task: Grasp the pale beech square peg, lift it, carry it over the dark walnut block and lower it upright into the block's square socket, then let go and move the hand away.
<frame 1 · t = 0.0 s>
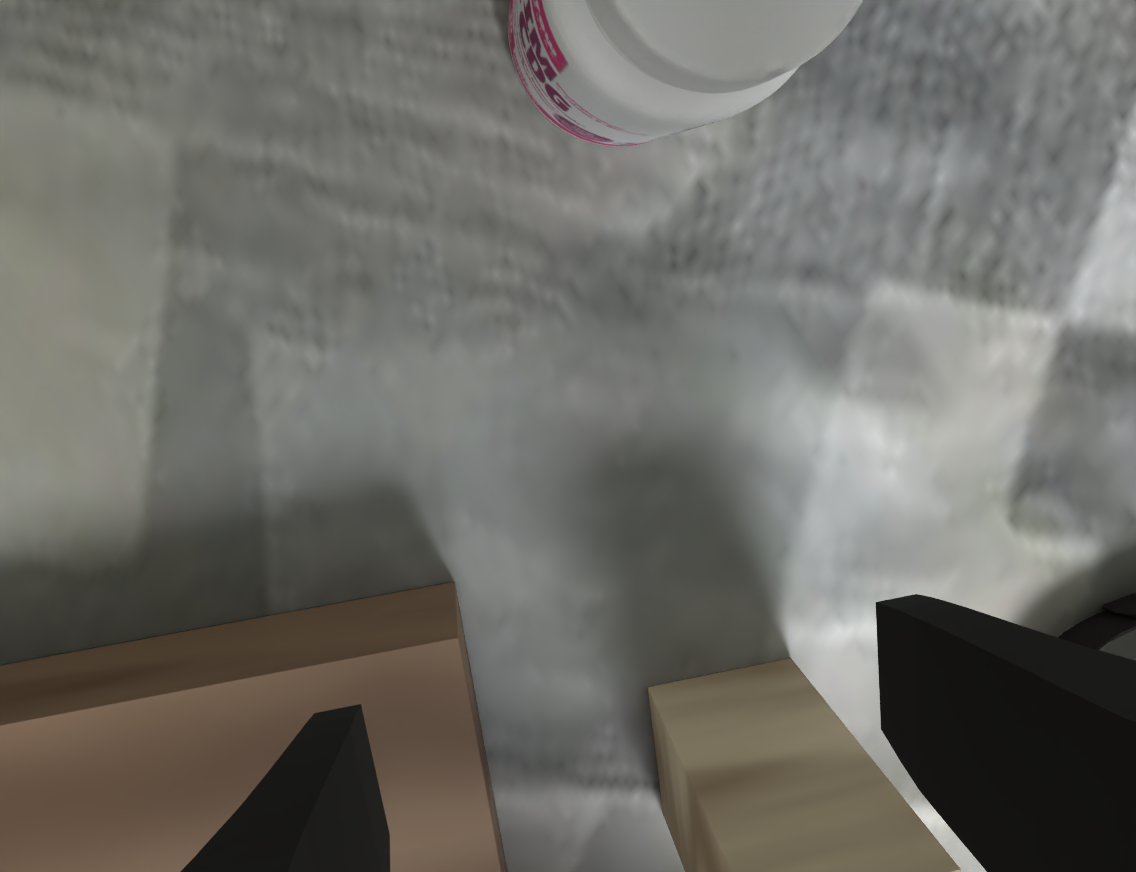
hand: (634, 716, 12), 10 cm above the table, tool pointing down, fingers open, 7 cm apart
beech peg: (726, 736, 24), on the table
watch: (1121, 650, 26), on the table
pill bottle: (611, 37, 20), on the table
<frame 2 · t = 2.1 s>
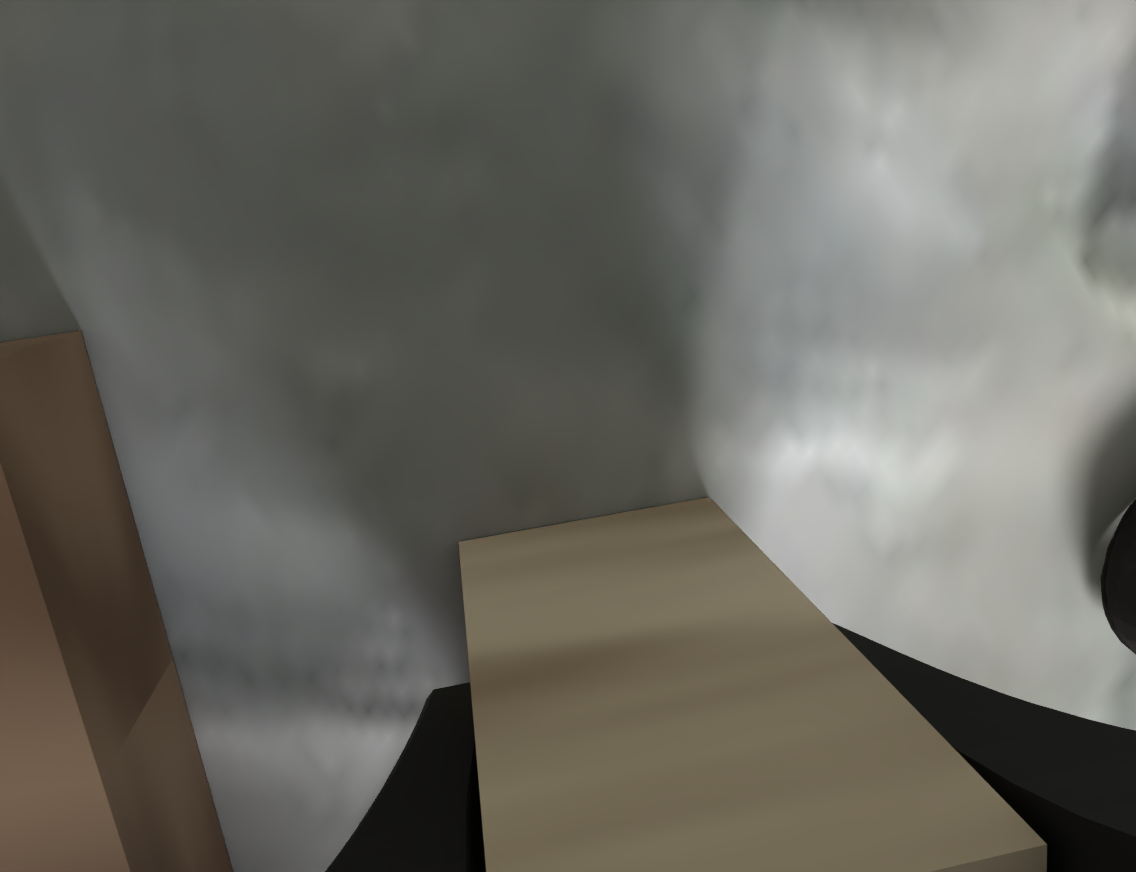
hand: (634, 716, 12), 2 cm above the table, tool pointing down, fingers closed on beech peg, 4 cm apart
beech peg: (601, 633, 14), on the table, touching gripper
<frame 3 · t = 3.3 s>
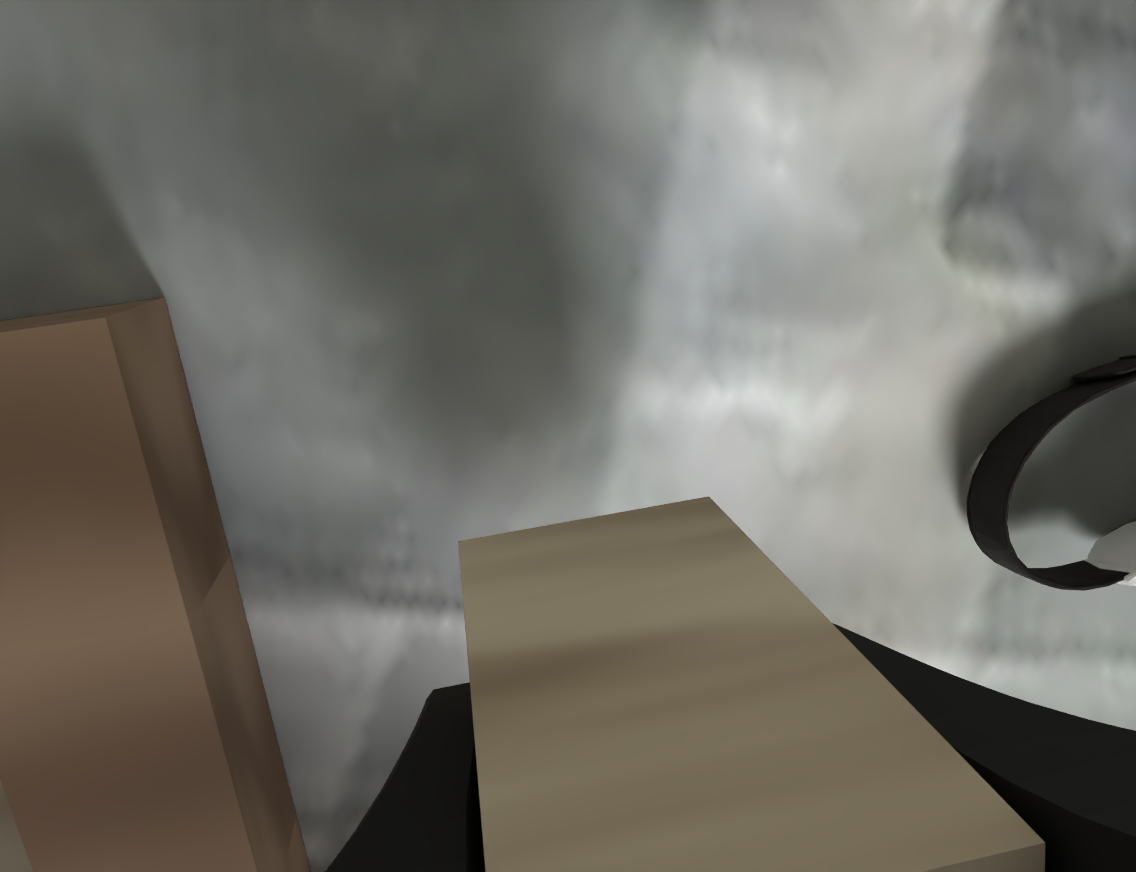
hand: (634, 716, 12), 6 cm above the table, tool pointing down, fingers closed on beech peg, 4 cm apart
beech peg: (601, 633, 14), point 4 cm above the table, touching gripper
watch: (1097, 445, 20), on the table
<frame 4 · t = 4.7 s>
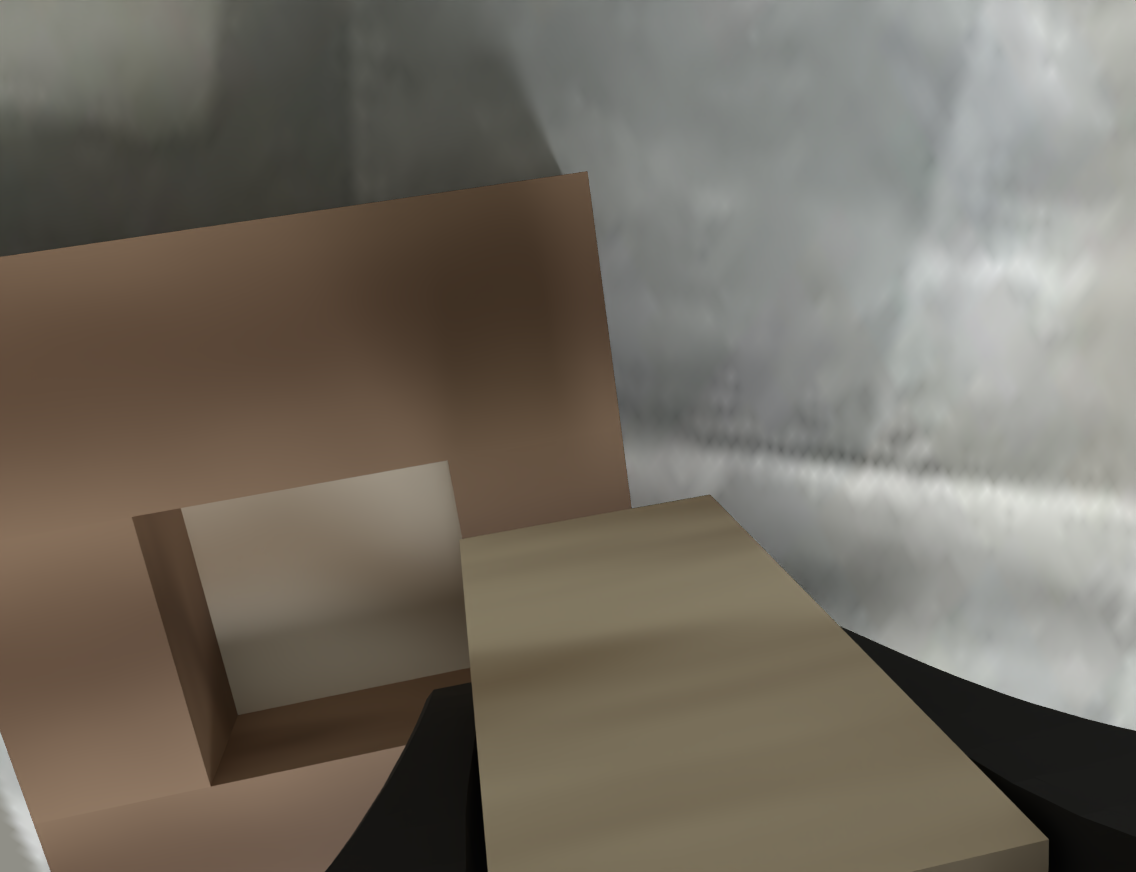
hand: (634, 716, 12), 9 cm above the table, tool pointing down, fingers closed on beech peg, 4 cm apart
beech peg: (602, 631, 14), point 7 cm above the table, touching gripper
socket block: (340, 569, 21), on the table
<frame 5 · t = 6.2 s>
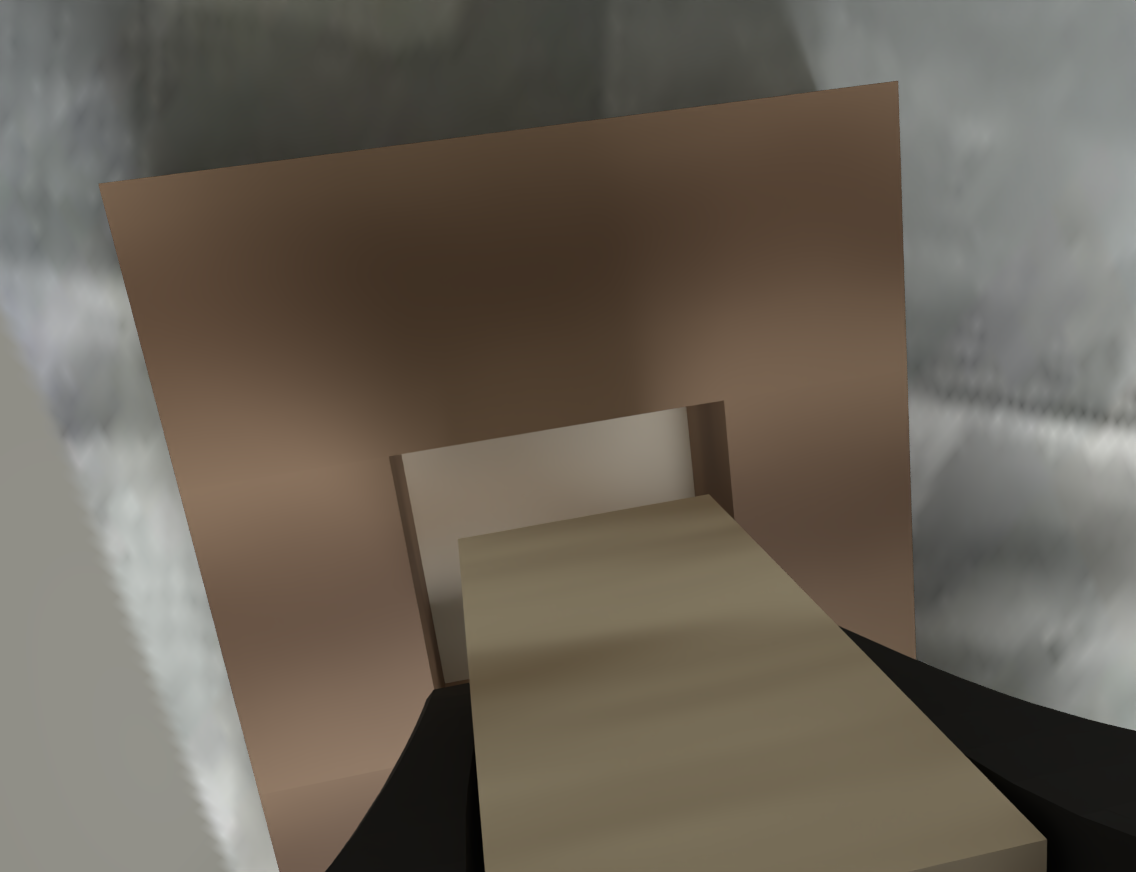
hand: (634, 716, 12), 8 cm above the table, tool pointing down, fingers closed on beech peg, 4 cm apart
beech peg: (600, 631, 14), point 5 cm above the table, touching gripper
socket block: (559, 527, 19), on the table
when the fingers open (4 cm above the table, at t = 7.4 s): beech peg drops 1 cm, resting on socket block.
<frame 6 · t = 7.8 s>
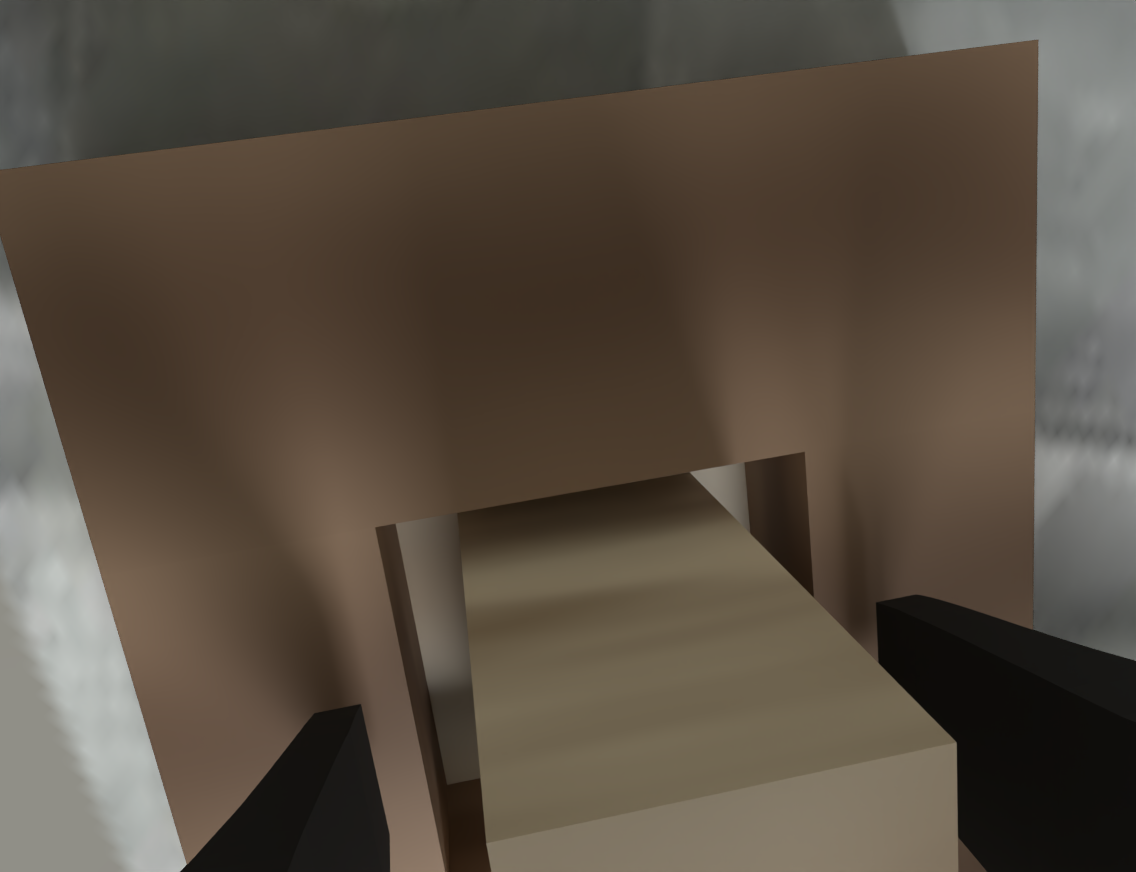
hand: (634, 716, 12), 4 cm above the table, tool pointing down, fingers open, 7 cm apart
beech peg: (589, 599, 15), resting on socket block
socket block: (586, 595, 16), on the table
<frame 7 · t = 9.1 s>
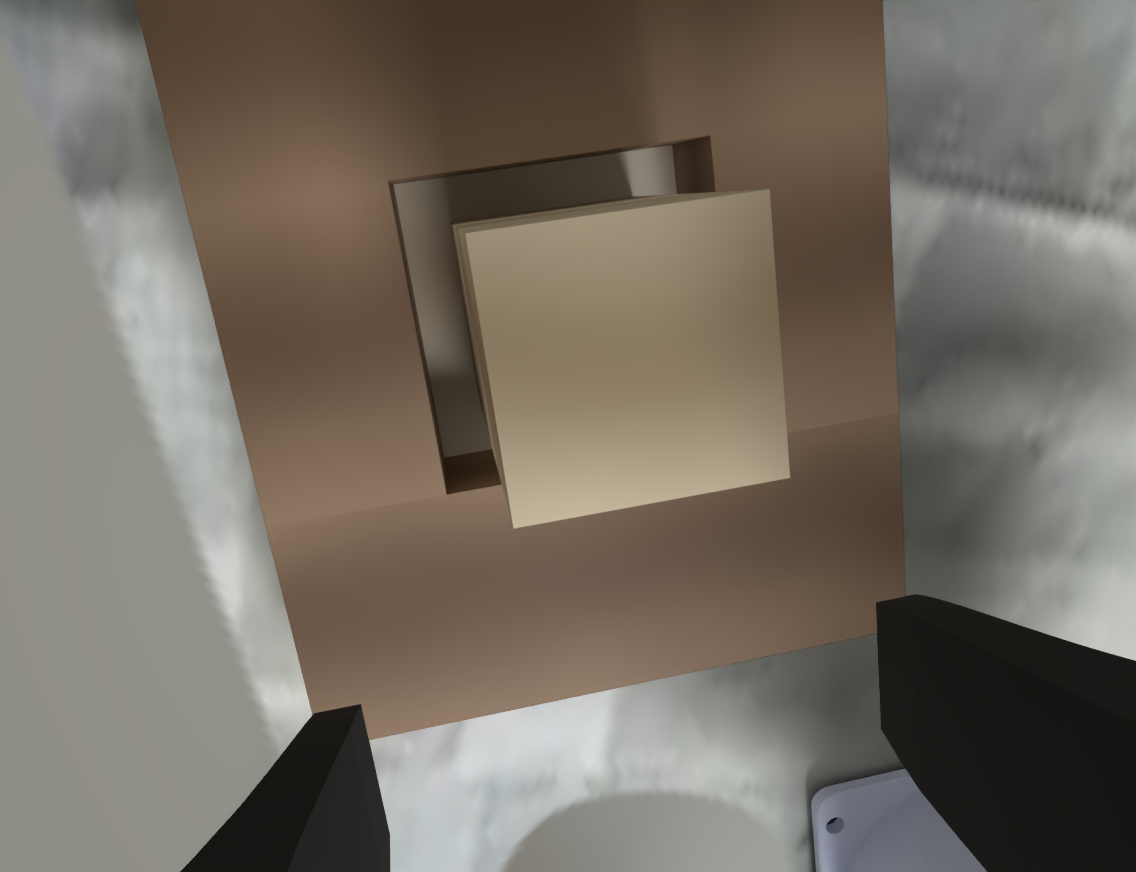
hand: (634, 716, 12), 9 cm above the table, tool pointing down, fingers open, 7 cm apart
beech peg: (555, 302, 19), resting on socket block
socket block: (553, 303, 20), on the table
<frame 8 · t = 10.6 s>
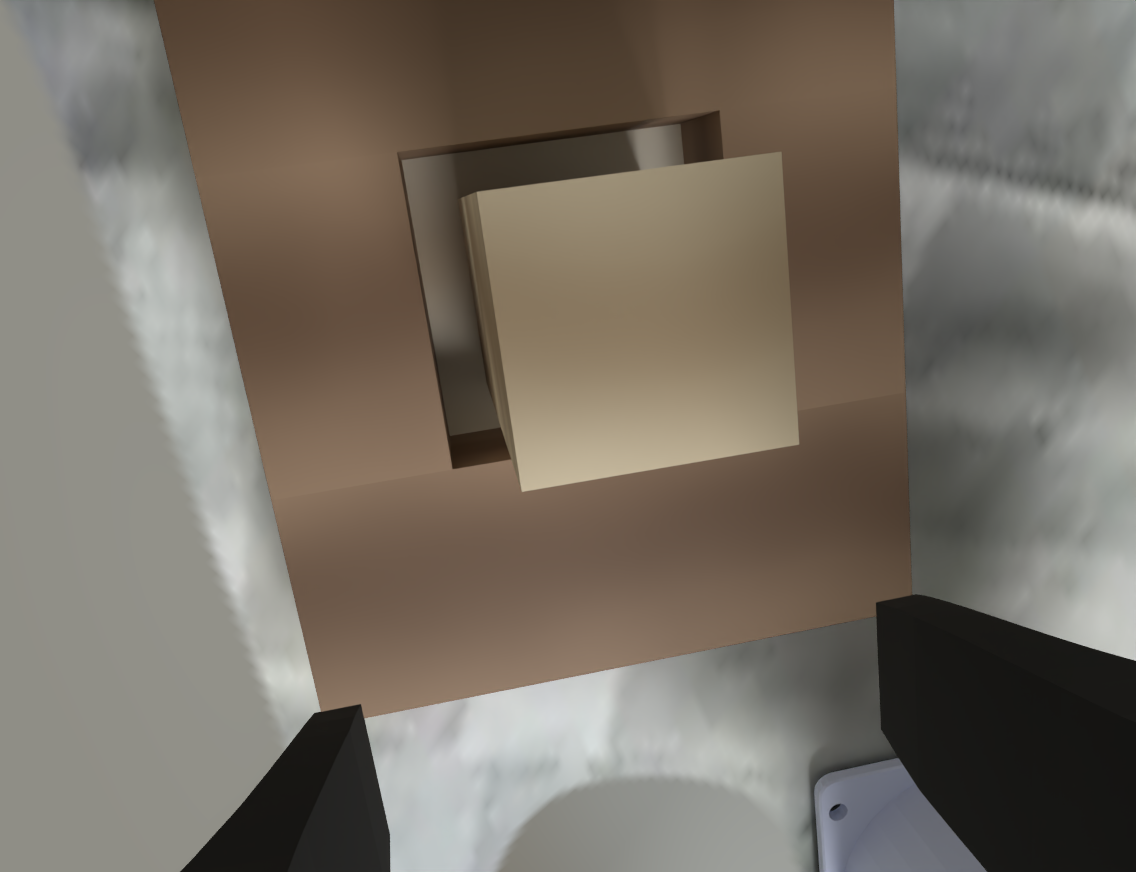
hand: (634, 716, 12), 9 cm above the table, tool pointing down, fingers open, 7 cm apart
beech peg: (562, 280, 19), resting on socket block
socket block: (560, 282, 20), on the table
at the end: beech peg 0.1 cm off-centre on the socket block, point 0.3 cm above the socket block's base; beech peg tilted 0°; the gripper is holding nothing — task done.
